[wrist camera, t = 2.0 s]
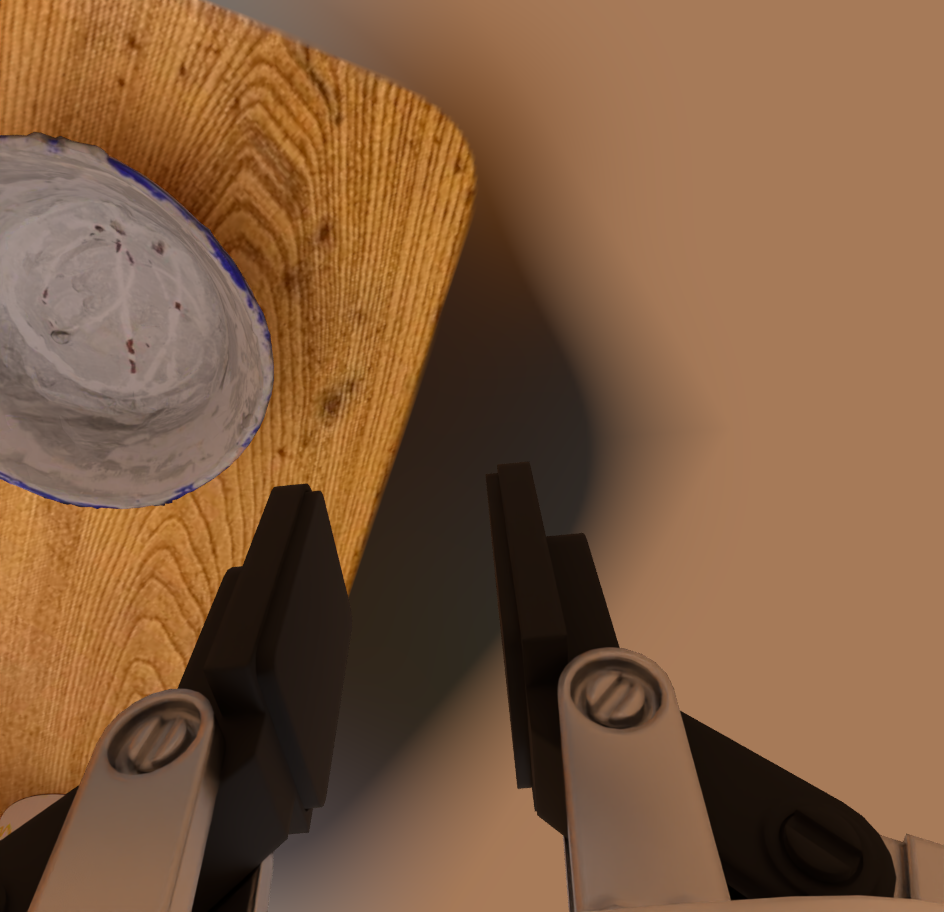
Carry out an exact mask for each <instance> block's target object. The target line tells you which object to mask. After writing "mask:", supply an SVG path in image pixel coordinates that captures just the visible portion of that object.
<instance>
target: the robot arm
mask: <svg viewBox="0 0 944 912" xmlns="http://www.w3.org/2000/svg"><path fill="white" fill-rule="evenodd" d="M497 469H498V473H494V474H486V483H487V494H488V503H489V515H490V525H491V536H492V546H493V556H494V567H495V577H496V587H497V597H498V608H499V618H500V627H501V637H502V646H503V655H504V665H505V675H506V684H507V694H508V703H509V712H510V721H511V730H512V741H513V750H514V760H515V768H516V779H517V788H518V789H521V788H531V787H532V792H533V800H534V807H535V811H537V815H538V816H539V817H540V818H541V819H543V820H544V821H545V822H547V823H548V824H549V825H551V826H552V827H553V828H555V829H556V830H557V831H558V832H560V833H561V834H562V835H563V841H564V853H565V866H566V879H567V892H568V904H569V912H944V845H941V844H938V843H935V842H932V841H928V840H925V839H922V838H919V837H916V836H912V835H909V834H906V836H905V838H904V841H903V842H901V841H898V840H894V839H891V838H888V837H885V836H882V835H879V833H878V832H877V831H876V830H875V829H874V828H873V827H872V826H871V825H870V824H869V823H868V822H867V820H866V819H865V818H864V817H863V816H862V815H860V814H859V813H857V812H856V811H854V810H853V809H852V808H850V807H849V806H847V805H846V804H844V803H843V802H842V801H840V800H838V799H836V798H834V797H833V796H830V795H829V794H827V793H825V792H824V791H822V790H820V789H818V788H817V787H815V786H813V785H811V784H810V783H808V782H806V781H804V780H802V779H801V778H799V777H797V776H795V775H794V774H792V773H790V772H788V771H787V770H785V769H783V768H781V767H779V766H778V765H776V764H774V763H772V762H770V761H769V760H767V759H765V758H763V757H762V756H759V755H758V754H756V753H754V752H753V751H751V750H749V749H747V748H746V747H744V746H742V745H740V744H738V743H737V742H735V741H733V740H731V739H730V738H728V737H726V736H724V735H722V734H721V733H719V732H717V731H715V730H714V729H712V728H710V727H708V726H706V725H705V724H703V723H701V722H699V721H698V720H696V719H694V718H692V717H691V716H689V715H687V714H685V713H683V712H682V711H680V710H679V706H678V702H677V698H676V695H675V691H674V688H673V686H672V684H671V681H670V680H669V677H668V675H667V674H666V673H665V672H664V671H663V670H662V669H661V667H660V666H659V665H658V664H657V663H656V662H654V661H652V660H651V659H649V658H647V657H646V656H644V655H643V654H640V653H637V652H634V651H631V650H628V649H624V648H619V644H618V641H617V638H616V634H615V631H614V628H613V625H612V621H611V618H610V615H609V611H608V608H607V605H606V601H605V598H604V595H603V592H602V588H601V585H600V582H599V578H598V575H597V572H596V568H595V565H594V562H593V559H592V555H591V552H590V549H589V545H588V542H587V539H586V536H585V535H584V534H583V533H579V534H569V535H559V536H547V537H546V535H545V531H544V526H543V521H542V517H541V512H540V508H539V503H538V499H537V494H536V490H535V485H534V481H533V476H532V471H531V467H530V463H529V462H520V463H509V464H500V465H497ZM351 631H352V615H351V608H350V603H349V599H348V595H347V591H346V587H345V583H344V579H343V574H342V570H341V566H340V562H339V558H338V554H337V550H336V546H335V542H334V537H333V533H332V529H331V525H330V521H329V517H328V513H327V509H326V505H325V500H324V497H323V494H322V492H321V491H312V490H311V488H310V486H309V485H308V484H297V485H287V486H277V487H274V488H273V489H272V491H271V494H270V496H269V499H268V501H267V504H266V507H265V509H264V512H263V514H262V517H261V520H260V522H259V525H258V527H257V530H256V533H255V535H254V538H253V540H252V543H251V546H250V548H249V551H248V553H247V556H246V559H245V561H244V564H243V566H241V567H232V568H230V569H229V570H227V572H226V574H225V575H224V577H223V580H222V582H221V585H220V587H219V589H218V592H217V594H216V597H215V599H214V602H213V604H212V606H211V609H210V611H209V614H208V616H207V619H206V621H205V623H204V626H203V628H202V631H201V633H200V636H199V638H198V640H197V643H196V645H195V648H194V650H193V653H192V655H191V657H190V660H189V662H188V665H187V667H186V669H185V672H184V674H183V677H182V679H181V682H180V684H179V686H178V689H169V690H165V691H161V692H157V693H154V694H151V695H149V696H147V697H145V698H143V699H141V700H139V701H137V702H135V703H133V704H132V705H131V706H129V707H128V708H126V709H125V710H124V711H122V712H121V713H120V714H118V716H117V717H116V718H115V719H114V720H113V721H112V722H111V723H110V724H109V725H108V726H107V727H106V728H105V730H104V732H103V734H102V735H101V737H100V739H99V740H98V742H97V744H96V746H95V749H94V751H93V754H92V756H91V759H90V761H89V763H88V766H87V768H86V771H85V773H84V776H83V778H82V780H81V783H80V785H79V786H77V787H76V788H74V789H73V790H71V791H70V792H69V793H67V794H66V795H64V796H63V797H62V798H60V799H59V800H57V801H56V802H54V803H53V804H52V805H50V806H49V807H47V808H46V809H44V810H43V811H42V812H40V813H39V814H37V815H36V816H34V817H33V818H32V819H30V820H29V821H27V822H26V823H25V824H23V825H22V826H20V827H19V828H17V829H16V830H15V831H13V832H12V833H10V834H9V835H7V836H6V837H5V838H3V839H2V840H0V912H268V905H269V897H270V889H271V882H272V874H273V851H274V850H275V849H277V848H278V847H279V846H280V845H281V844H282V843H283V842H284V841H285V840H287V838H288V834H297V833H308V832H309V829H310V823H311V817H312V810H313V808H318V807H322V806H324V803H325V800H326V794H327V788H328V781H329V775H330V768H331V762H332V755H333V748H334V742H335V735H336V729H337V722H338V716H339V709H340V703H341V696H342V690H343V683H344V676H345V670H346V664H347V657H348V650H349V644H350V636H351Z"/></svg>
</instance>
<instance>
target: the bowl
mask: <svg viewBox="0 0 944 912" xmlns="http://www.w3.org/2000/svg"><path fill="white" fill-rule="evenodd" d="M273 381H274V362H273V352H272V345H271V336H270V332H269V330H268V327H267V323H266V320H265V317H264V314H263V312H262V310H261V308H260V306H259V304H258V303H257V301H256V299H255V297H254V295H253V292H252V290H251V288H250V287H249V285H248V283H247V282H246V280H245V278H244V277H243V275H242V274H241V272H240V270H239V269H238V267H237V265H236V264H235V262H234V261H233V259H232V258H231V257H230V255H229V254H228V253H227V252H226V251H225V250H224V249H223V247H222V246H221V245H220V243H219V242H218V241H217V240H216V238H215V237H214V236H213V234H212V233H211V231H210V229H208V228H207V227H206V226H204V225H203V224H201V223H200V222H199V221H198V220H197V219H196V218H195V217H194V216H193V215H192V214H191V213H190V212H189V211H188V210H187V209H186V208H185V207H184V206H183V205H182V204H181V203H179V202H178V201H177V200H176V199H175V198H174V197H172V196H171V195H170V194H169V193H168V192H167V191H165V190H164V189H163V188H161V187H160V186H159V185H157V184H156V183H155V182H153V181H152V180H150V179H149V178H147V177H146V176H144V175H143V174H141V173H140V172H138V171H136V170H134V169H133V168H131V167H129V166H127V165H126V164H124V163H122V162H120V161H119V160H117V159H115V158H113V157H110V156H109V155H108V154H107V153H106V152H105V151H104V150H103V149H101V148H99V147H98V146H95V145H89V144H83V143H79V142H75V141H71V140H69V139H66V138H64V137H62V136H59V137H57V138H54V137H51V136H48V135H46V134H43V133H39V132H33V133H31V134H29V135H27V136H24V135H0V479H2V480H4V481H6V482H8V483H10V484H13V485H16V486H18V487H21V488H23V489H25V490H28V491H30V492H33V493H35V494H37V495H40V496H42V497H44V498H47V499H51V500H54V501H57V502H60V503H63V504H67V505H69V504H72V505H75V506H78V507H93V508H96V509H99V508H114V509H129V508H140V507H146V506H151V505H154V506H159V505H162V506H165V503H166V504H169V503H172V500H175V499H176V500H177V499H178V498H180V497H182V496H184V495H185V494H187V493H189V492H192V491H194V490H196V489H198V488H199V487H201V486H203V485H204V484H206V483H207V482H209V481H211V480H212V479H214V478H215V477H216V476H217V475H219V474H220V473H221V472H223V471H224V470H225V469H227V468H228V467H229V466H230V465H231V464H232V463H233V462H234V461H235V460H236V459H237V458H238V457H239V456H240V455H241V454H242V452H243V451H244V450H245V449H246V448H247V446H248V445H249V444H250V442H251V441H252V439H253V437H254V436H255V434H256V433H257V431H258V429H259V428H260V425H261V423H262V421H263V419H264V416H265V413H266V410H267V406H268V403H269V400H270V397H271V394H272V389H273Z"/></svg>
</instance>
